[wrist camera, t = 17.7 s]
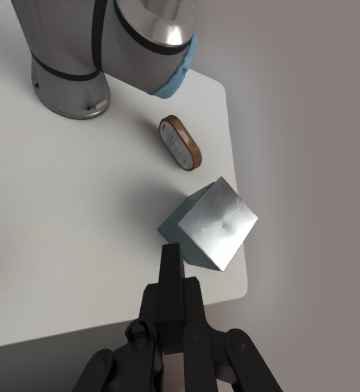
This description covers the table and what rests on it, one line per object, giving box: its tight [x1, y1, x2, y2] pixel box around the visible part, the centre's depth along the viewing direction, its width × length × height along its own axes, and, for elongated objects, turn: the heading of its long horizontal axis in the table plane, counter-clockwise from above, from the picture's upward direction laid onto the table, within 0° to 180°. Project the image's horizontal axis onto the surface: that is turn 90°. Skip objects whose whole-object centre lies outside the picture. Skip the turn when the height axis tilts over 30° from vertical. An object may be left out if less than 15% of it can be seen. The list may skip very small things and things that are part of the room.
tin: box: [159, 115, 202, 171], centre depth 43 cm, size 15×3×8 cm, turn 39°
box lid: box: [177, 176, 258, 272], centre depth 31 cm, size 13×12×1 cm
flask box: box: [157, 182, 220, 271], centre depth 37 cm, size 13×12×12 cm
